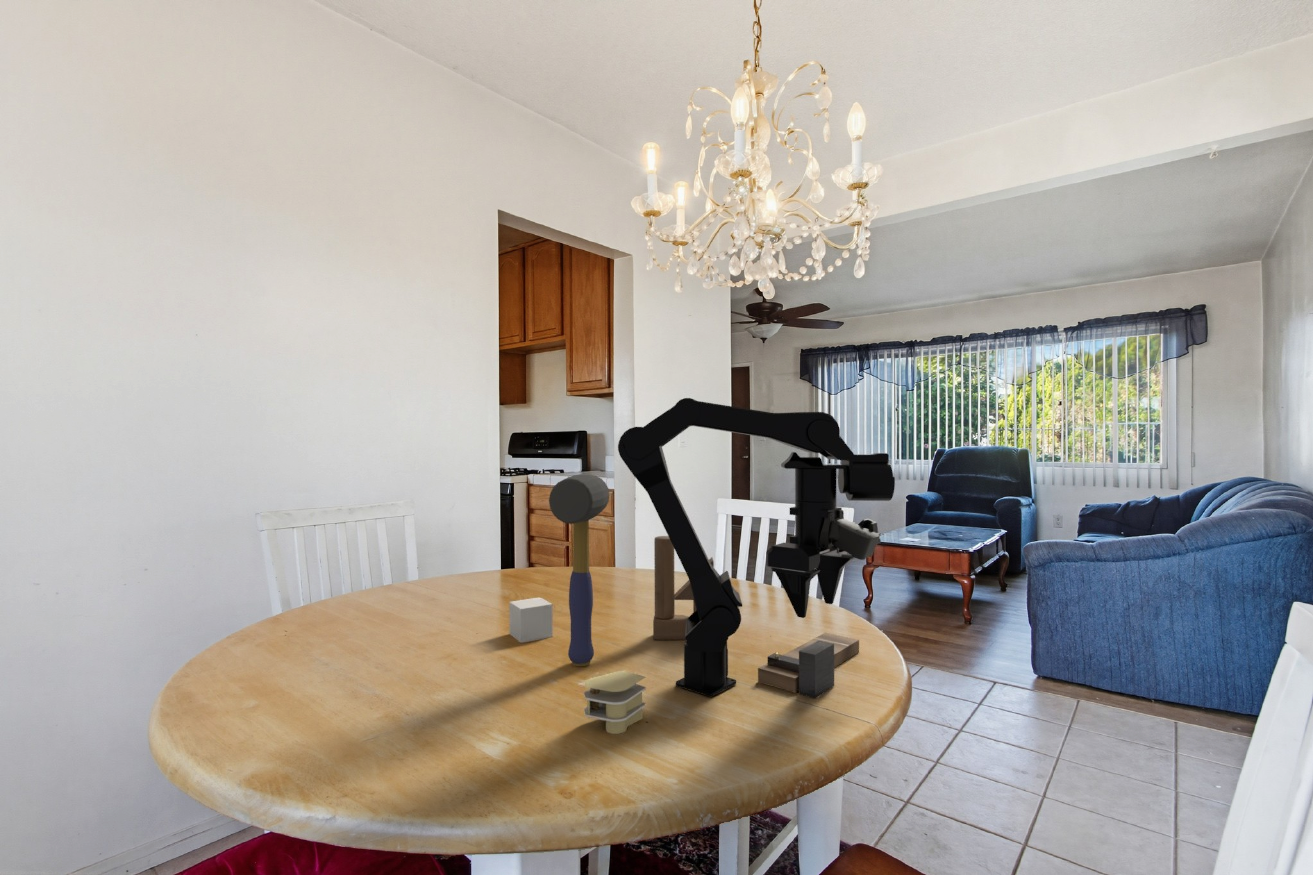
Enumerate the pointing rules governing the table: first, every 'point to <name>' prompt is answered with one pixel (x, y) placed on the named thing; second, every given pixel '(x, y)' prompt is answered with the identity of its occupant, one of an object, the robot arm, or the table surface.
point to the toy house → (615, 700)
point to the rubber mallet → (580, 553)
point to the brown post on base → (668, 593)
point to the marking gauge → (810, 667)
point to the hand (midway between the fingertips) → (815, 610)
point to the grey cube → (531, 619)
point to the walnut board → (790, 679)
